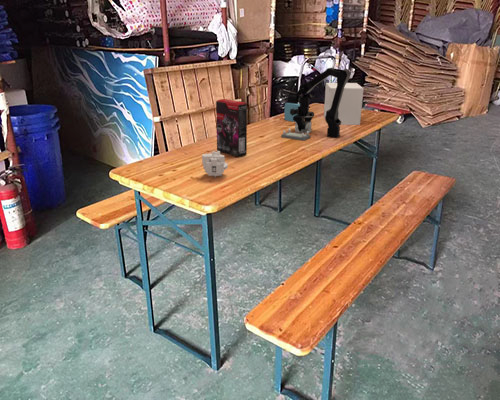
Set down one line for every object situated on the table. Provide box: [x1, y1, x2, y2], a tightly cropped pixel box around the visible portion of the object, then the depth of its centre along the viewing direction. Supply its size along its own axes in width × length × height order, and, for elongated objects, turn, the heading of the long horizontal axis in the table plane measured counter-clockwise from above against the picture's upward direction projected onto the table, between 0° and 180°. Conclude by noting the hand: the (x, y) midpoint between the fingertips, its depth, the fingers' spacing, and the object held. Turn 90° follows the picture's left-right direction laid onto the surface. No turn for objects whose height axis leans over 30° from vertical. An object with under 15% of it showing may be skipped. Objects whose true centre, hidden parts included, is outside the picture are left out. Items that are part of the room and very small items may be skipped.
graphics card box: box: [215, 98, 248, 158], centre depth 227 cm, size 17×7×27 cm, turn 46°
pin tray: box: [280, 127, 312, 142], centre depth 263 cm, size 15×9×4 cm, turn 58°
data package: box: [283, 102, 300, 123], centre depth 303 cm, size 12×4×12 cm, turn 51°
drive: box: [294, 120, 312, 134], centre depth 274 cm, size 9×5×7 cm, turn 58°
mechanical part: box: [201, 150, 229, 179], centre depth 197 cm, size 11×12×12 cm
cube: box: [323, 82, 365, 126], centre depth 302 cm, size 25×21×24 cm
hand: (303, 129), depth 275 cm, fingers open, 8 cm apart
